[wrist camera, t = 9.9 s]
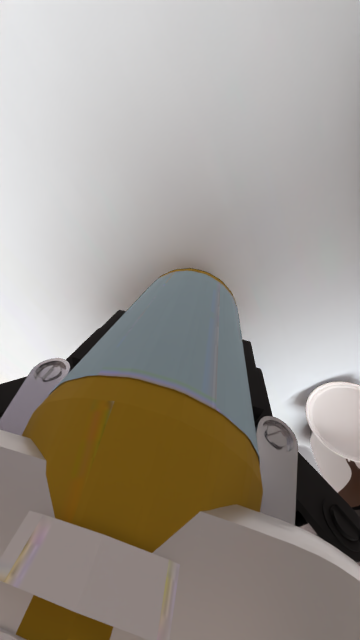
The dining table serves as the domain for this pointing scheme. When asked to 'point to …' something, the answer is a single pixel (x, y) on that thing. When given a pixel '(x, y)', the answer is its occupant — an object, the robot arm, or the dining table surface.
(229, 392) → the bottle
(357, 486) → the spread jar
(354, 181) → the dining table surface
